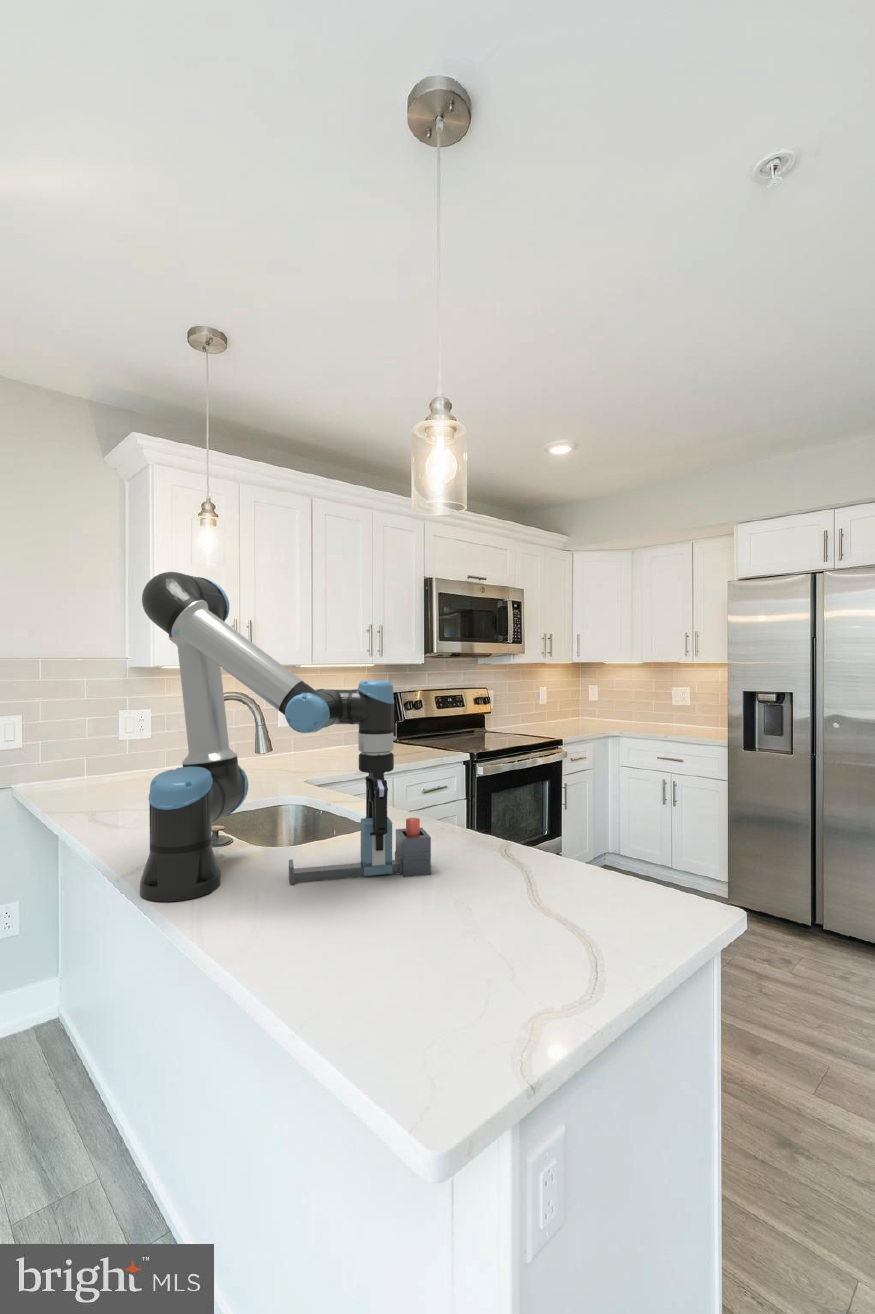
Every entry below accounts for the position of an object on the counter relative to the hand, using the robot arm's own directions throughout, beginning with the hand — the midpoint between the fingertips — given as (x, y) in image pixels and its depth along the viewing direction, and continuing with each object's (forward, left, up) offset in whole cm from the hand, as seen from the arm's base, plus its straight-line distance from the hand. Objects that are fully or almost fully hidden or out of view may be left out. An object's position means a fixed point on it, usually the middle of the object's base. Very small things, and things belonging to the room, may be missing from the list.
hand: (376, 860), depth 138 cm
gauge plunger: (+8, 0, +2) cm, 8 cm away
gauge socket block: (+8, 0, -3) cm, 9 cm away
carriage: (0, 0, -2) cm, 2 cm away
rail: (-6, 0, -3) cm, 7 cm away
